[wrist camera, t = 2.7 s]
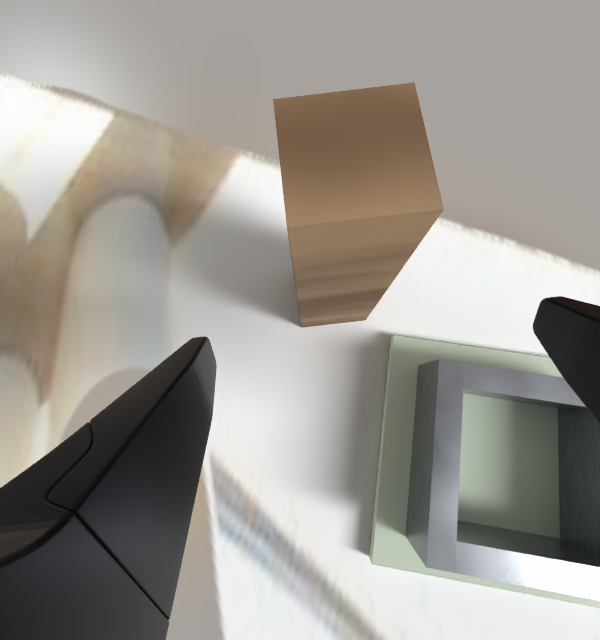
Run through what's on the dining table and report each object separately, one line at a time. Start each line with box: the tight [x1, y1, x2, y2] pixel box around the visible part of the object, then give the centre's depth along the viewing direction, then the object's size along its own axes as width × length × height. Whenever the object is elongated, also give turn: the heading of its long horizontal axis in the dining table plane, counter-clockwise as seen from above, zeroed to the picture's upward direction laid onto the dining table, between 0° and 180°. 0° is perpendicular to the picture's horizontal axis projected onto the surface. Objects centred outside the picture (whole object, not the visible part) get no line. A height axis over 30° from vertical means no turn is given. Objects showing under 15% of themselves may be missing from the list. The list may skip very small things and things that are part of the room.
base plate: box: [369, 335, 600, 608], centre depth 18 cm, size 12×12×1 cm
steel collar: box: [405, 359, 600, 601], centre depth 16 cm, size 9×9×3 cm
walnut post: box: [273, 83, 444, 327], centre depth 15 cm, size 4×4×12 cm
